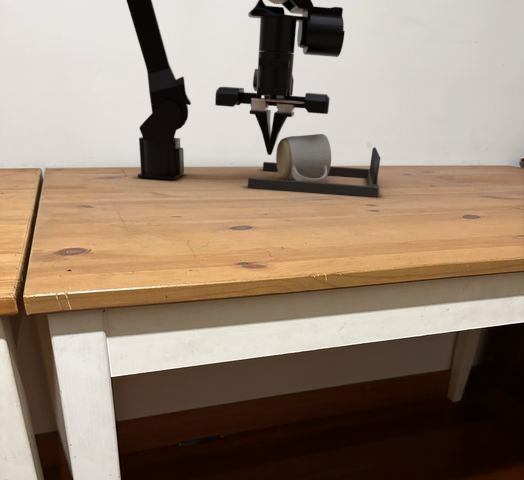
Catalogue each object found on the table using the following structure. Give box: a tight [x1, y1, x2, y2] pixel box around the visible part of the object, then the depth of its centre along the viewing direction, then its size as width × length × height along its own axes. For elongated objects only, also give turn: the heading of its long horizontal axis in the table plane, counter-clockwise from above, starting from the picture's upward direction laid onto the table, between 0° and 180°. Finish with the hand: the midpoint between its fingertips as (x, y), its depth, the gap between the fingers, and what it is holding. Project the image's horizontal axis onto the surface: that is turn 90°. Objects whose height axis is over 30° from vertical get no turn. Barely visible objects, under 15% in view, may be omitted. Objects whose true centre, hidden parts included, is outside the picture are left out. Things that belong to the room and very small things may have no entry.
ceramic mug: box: [275, 133, 332, 183], centre depth 91 cm, size 11×8×8 cm
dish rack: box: [247, 146, 381, 198], centre depth 91 cm, size 21×19×6 cm
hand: (269, 154), depth 91 cm, fingers closed
